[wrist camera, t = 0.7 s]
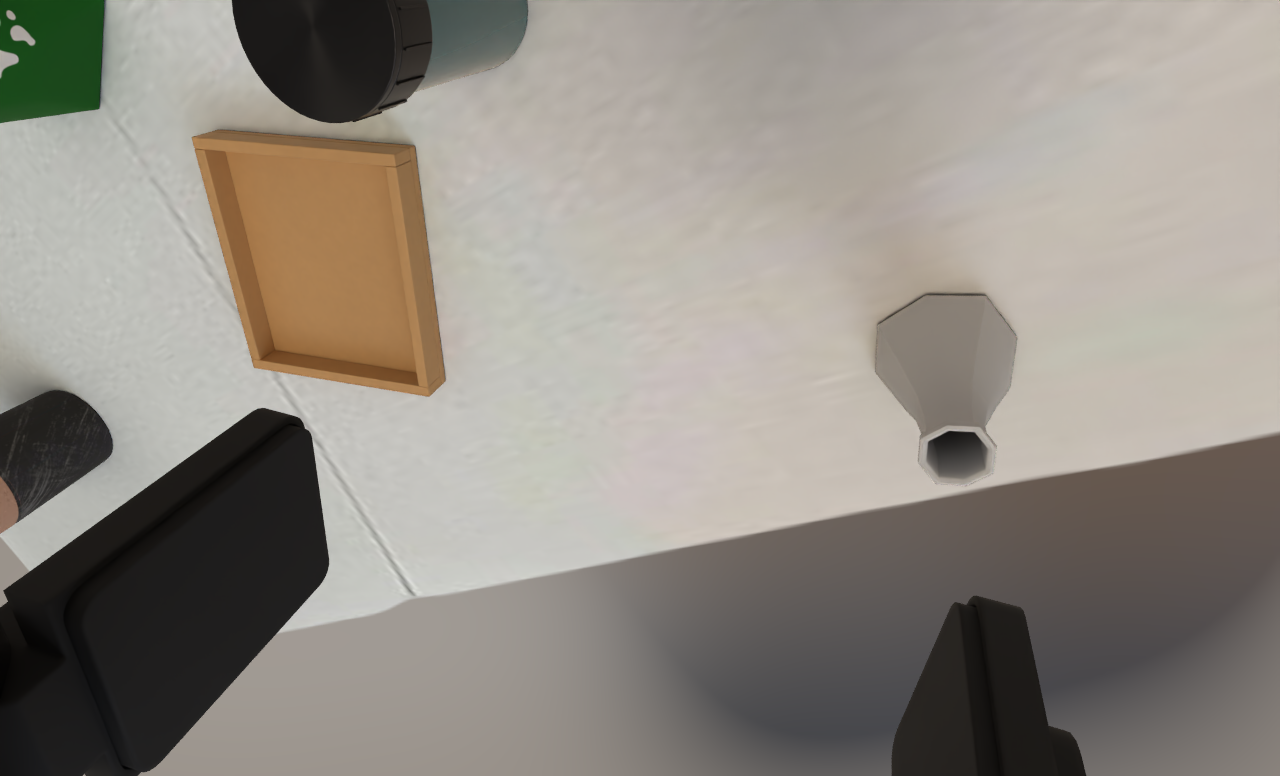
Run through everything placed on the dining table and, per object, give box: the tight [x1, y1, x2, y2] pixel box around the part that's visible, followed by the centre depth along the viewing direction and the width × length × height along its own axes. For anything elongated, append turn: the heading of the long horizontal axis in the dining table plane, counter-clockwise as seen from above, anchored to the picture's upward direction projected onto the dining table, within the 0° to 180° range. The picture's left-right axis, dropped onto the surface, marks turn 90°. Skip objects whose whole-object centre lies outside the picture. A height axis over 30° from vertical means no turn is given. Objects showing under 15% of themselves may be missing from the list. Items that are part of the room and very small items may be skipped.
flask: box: [875, 295, 1017, 486], centre depth 37 cm, size 7×7×10 cm
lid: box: [232, 0, 433, 123], centre depth 30 cm, size 7×7×3 cm
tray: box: [192, 130, 445, 397], centre depth 48 cm, size 15×13×2 cm
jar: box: [415, 0, 527, 92], centre depth 34 cm, size 6×6×12 cm
